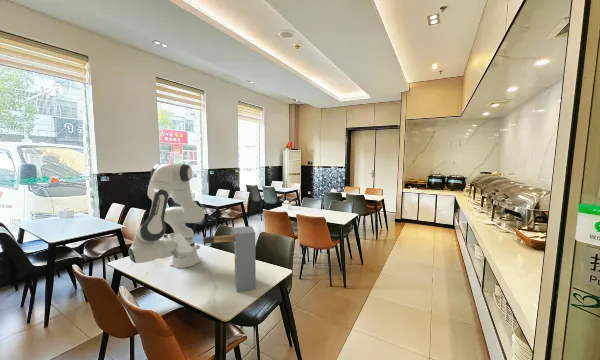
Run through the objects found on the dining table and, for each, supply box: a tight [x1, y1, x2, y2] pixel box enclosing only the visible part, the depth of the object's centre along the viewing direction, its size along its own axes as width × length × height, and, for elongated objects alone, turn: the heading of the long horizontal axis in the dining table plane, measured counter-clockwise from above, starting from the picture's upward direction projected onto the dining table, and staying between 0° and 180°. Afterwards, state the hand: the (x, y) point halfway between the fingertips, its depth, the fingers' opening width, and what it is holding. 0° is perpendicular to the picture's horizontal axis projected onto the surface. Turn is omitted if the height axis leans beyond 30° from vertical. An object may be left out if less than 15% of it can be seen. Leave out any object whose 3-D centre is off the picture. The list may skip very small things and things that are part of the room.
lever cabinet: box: [233, 226, 257, 293], centre depth 135 cm, size 13×11×31 cm
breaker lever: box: [202, 234, 235, 245], centre depth 130 cm, size 3×16×3 cm, turn 109°
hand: (195, 242), depth 132 cm, fingers open, 8 cm apart
